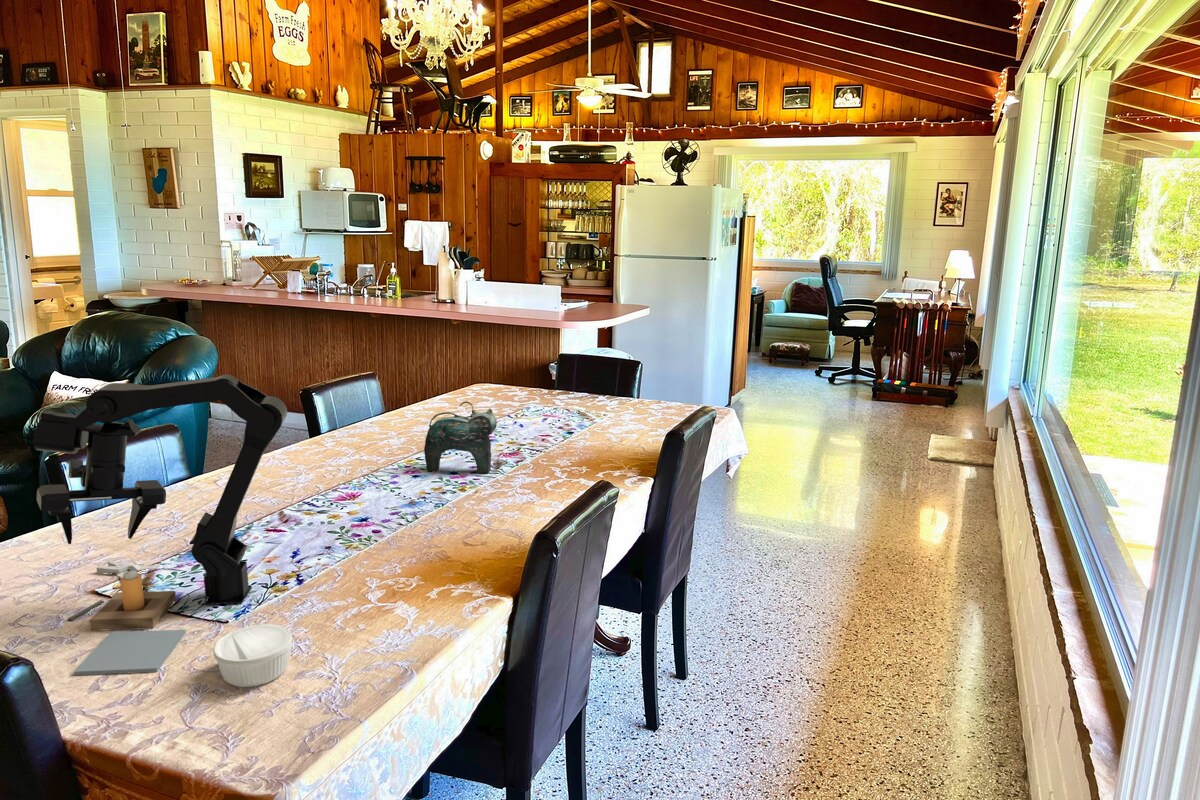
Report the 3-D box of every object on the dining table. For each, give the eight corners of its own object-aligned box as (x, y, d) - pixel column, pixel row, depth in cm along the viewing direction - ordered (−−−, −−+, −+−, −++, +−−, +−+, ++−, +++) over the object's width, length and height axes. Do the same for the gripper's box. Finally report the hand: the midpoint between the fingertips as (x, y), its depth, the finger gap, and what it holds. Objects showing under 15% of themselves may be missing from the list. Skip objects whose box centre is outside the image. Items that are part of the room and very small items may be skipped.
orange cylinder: (148, 610, 145) (144, 569, 143) (141, 619, 142) (136, 577, 140) (129, 611, 144) (124, 569, 142) (121, 619, 141) (116, 577, 139)
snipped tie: (100, 602, 147) (100, 600, 147) (104, 602, 147) (104, 600, 147) (67, 620, 141) (67, 618, 140) (71, 621, 140) (71, 619, 140)
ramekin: (199, 682, 124) (196, 651, 122) (254, 647, 134) (251, 618, 133) (257, 699, 120) (254, 667, 119) (308, 661, 130) (307, 631, 129)
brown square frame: (176, 600, 148) (175, 590, 148) (153, 628, 139) (152, 617, 138) (118, 602, 147) (116, 592, 147) (91, 630, 138) (89, 619, 137)
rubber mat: (185, 632, 138) (185, 629, 137) (157, 671, 126) (156, 668, 126) (110, 635, 136) (110, 632, 136) (74, 675, 124) (74, 671, 124)
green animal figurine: (497, 469, 228) (497, 400, 223) (492, 476, 222) (492, 405, 217) (429, 465, 230) (427, 397, 225) (421, 472, 224) (419, 402, 219)
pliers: (146, 584, 152) (81, 574, 155) (147, 592, 152) (82, 581, 156) (185, 563, 161) (123, 553, 165) (186, 570, 161) (124, 561, 165)
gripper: (154, 441, 152) (148, 519, 155) (34, 443, 140) (29, 528, 142) (170, 460, 144) (162, 541, 147) (44, 464, 132) (38, 553, 134)
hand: (100, 540), depth 143 cm, fingers open, 9 cm apart
